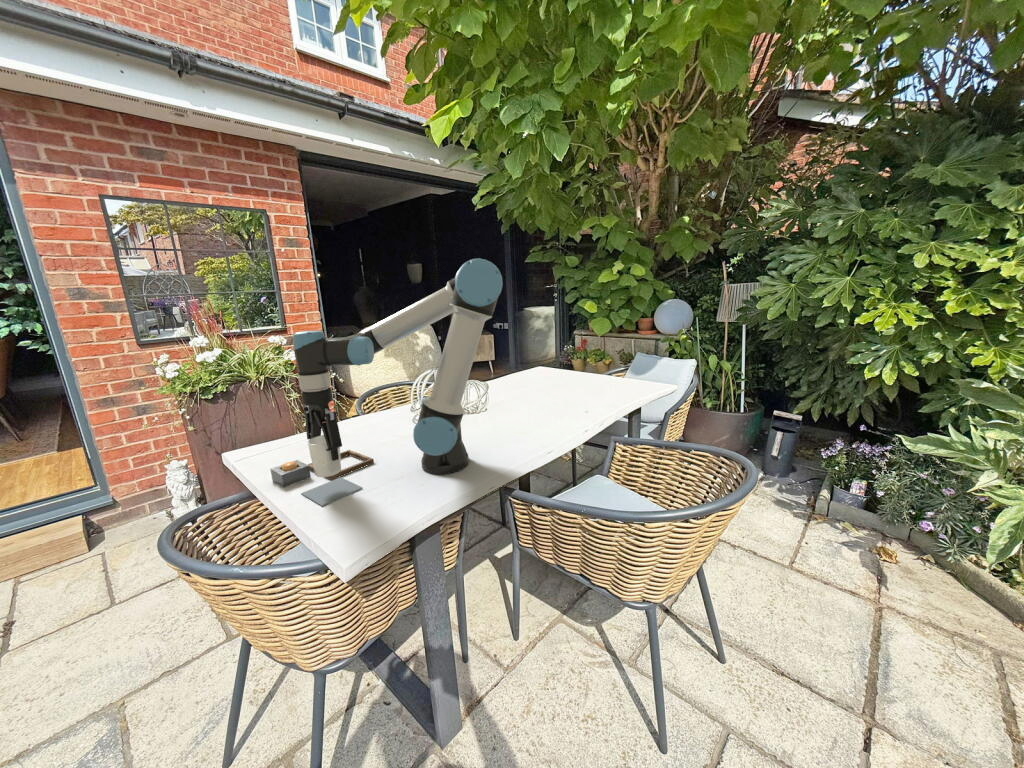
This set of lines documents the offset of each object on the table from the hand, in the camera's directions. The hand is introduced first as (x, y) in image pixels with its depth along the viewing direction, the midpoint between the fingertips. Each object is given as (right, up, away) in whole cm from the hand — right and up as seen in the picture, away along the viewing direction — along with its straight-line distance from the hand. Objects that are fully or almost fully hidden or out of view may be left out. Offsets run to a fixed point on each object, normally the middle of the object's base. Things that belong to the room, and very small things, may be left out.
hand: (327, 466), depth 112 cm
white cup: (0, -2, 0) cm, 2 cm away
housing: (-16, -6, +11) cm, 21 cm away
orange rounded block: (-16, -5, +11) cm, 20 cm away
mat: (+1, -7, +2) cm, 8 cm away
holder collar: (-5, -4, +19) cm, 20 cm away
